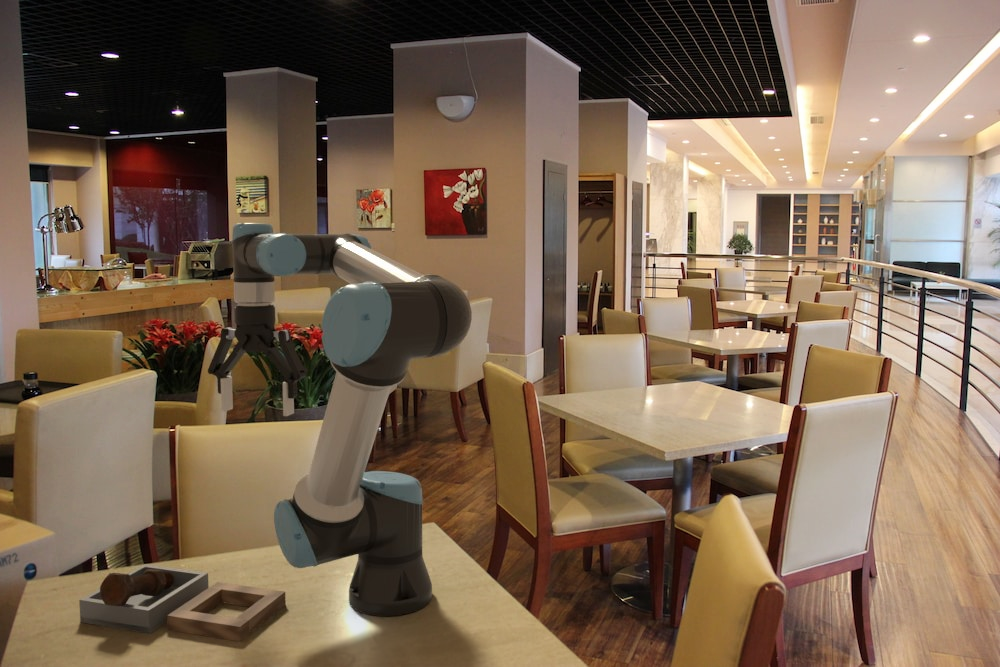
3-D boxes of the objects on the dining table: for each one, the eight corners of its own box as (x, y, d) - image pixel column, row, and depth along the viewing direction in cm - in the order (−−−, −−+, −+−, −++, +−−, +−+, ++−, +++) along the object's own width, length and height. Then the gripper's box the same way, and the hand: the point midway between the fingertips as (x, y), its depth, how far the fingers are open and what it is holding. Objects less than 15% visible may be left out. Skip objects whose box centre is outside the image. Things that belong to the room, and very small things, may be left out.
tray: (208, 593, 150) (208, 572, 150) (149, 633, 135) (148, 610, 135) (145, 584, 154) (144, 564, 154) (80, 622, 139) (79, 599, 138)
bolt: (166, 558, 151) (112, 566, 136) (185, 574, 150) (133, 584, 135) (149, 584, 151) (93, 595, 136) (168, 601, 149) (113, 614, 135)
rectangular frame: (285, 604, 146) (285, 591, 146) (240, 641, 133) (240, 626, 132) (218, 595, 150) (217, 582, 150) (167, 629, 136) (167, 615, 136)
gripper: (322, 304, 156) (324, 412, 159) (210, 300, 163) (214, 404, 165) (303, 307, 149) (305, 420, 151) (186, 303, 156) (190, 412, 158)
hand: (257, 412), depth 158 cm, fingers open, 13 cm apart
